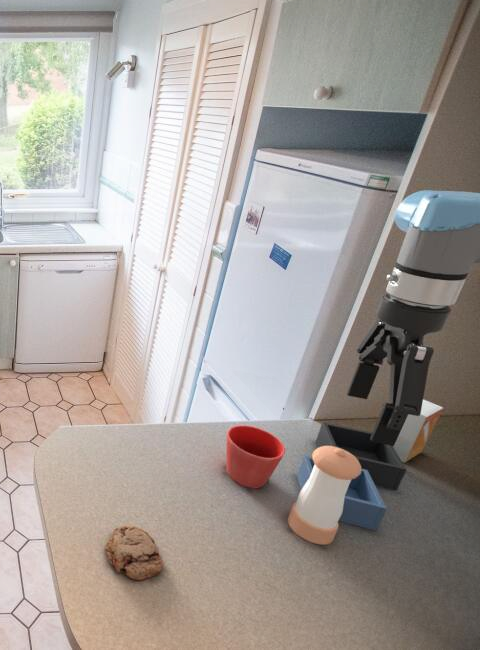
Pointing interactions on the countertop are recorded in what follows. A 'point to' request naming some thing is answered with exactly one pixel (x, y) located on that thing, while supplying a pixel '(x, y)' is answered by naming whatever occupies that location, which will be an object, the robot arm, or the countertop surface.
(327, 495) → the pepper shaker
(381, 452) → the charcoal bin
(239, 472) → the flower pot
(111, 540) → the cookie
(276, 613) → the countertop surface
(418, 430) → the small box
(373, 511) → the blue bin
